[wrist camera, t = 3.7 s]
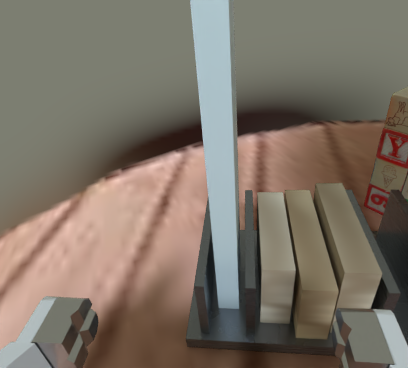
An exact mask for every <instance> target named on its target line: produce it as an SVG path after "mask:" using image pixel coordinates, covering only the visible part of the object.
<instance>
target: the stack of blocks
mask: <svg viewBox="0 0 408 368" xmlns="http://www.w3.org/2000/svg"><path fill="white" fill-rule="evenodd" d="M398 189H399V190H400V192H401V193H402V195H403V196H404V198H405V199H406V201H407V202H408V87H406V88H404V89H402V90H400V91H398V92H396V93H394V94H393V95H392V97H391V101H390V105H389V110H388V113H387V117H386V122H385V127H384V128H383V131H382V135H381V138H380V142H379V146H378V151H377V155H376V161H375V165H374V170H373V173H372V177H371V181H370V183H369V187H368V191H367V196H366V199H365V202H364V206H365V207H367V208H369V209H371V210H373V211H375V212H377V213H379V214H382V215H383V214H384V211H385V207H386V204H387V201H388V197H389V194H390V191H391V190H398Z"/></svg>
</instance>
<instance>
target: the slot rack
mask: <svg viewBox="0 0 408 368" xmlns="http://www.w3.org/2000/svg"><path fill="white" fill-rule="evenodd" d="M345 191H346V193H347V195H348V198H349V200H350V202H351V204H352V207H353V209H354V211H355V213H356V216H357V218H358V220H359V222H360V224H361V227H362V229H363V231H364V233H365V236H366V238H367V240H368V242H369V245H370V247H371V249H372V251H373V254H374V256H375V258H376V260H377V263H378V265H379V267H380V269H381V272H382V277H381V280H380V283H379V285H378V288H377V291H376V294H375V297H374V300H373V303H372V306H371V309H386V310H391V311H392V312H393V313H394V315H395V317H396V320H397V322H398V324H399V327H400V329H401V331H402V334H403V336H404V338H405V340H406V343H407V345H408V202H407V201H406V199H405V198H404V196H403V195H402V193H401V192H400V190H399V189H398V190H391V191H390V194H389V197H388V201H387V204H386V207H385V211H384V214H383V217H382V221H381V224H380V227H379V230H378V231H371V230H370V228H369V226H368V223H367V221H366V219H365V217H364V215H363V213H362V211H361V209H360V207H359V204H358V202H357V200H356V198H355V196H354V194H353V192H352V190H345ZM186 342H187V347H201V348H218V349H234V350H251V351H267V352H283V353H300V354H316V355H333V356H336V355H335V353H334V348H333V343H332V333H330V330H329V334H328V338H327V340H326V339H308V338H296V335H295V328H294V320H293V313H292V307H291V315H290V324H283V323H263V322H260V303H259V280H258V257H257V230H254V224H253V194H252V190H245V230H240V286H239V309H230V308H219V305H218V294H217V283H216V273H215V262H214V251H213V240H212V230H211V219H210V208H209V197H208V201H207V207H206V213H205V220H204V226H203V232H202V239H201V245H200V251H199V257H198V264H197V270H196V276H195V283H194V291H193V297H192V303H191V310H190V316H189V322H188V329H187V335H186Z"/></svg>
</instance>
